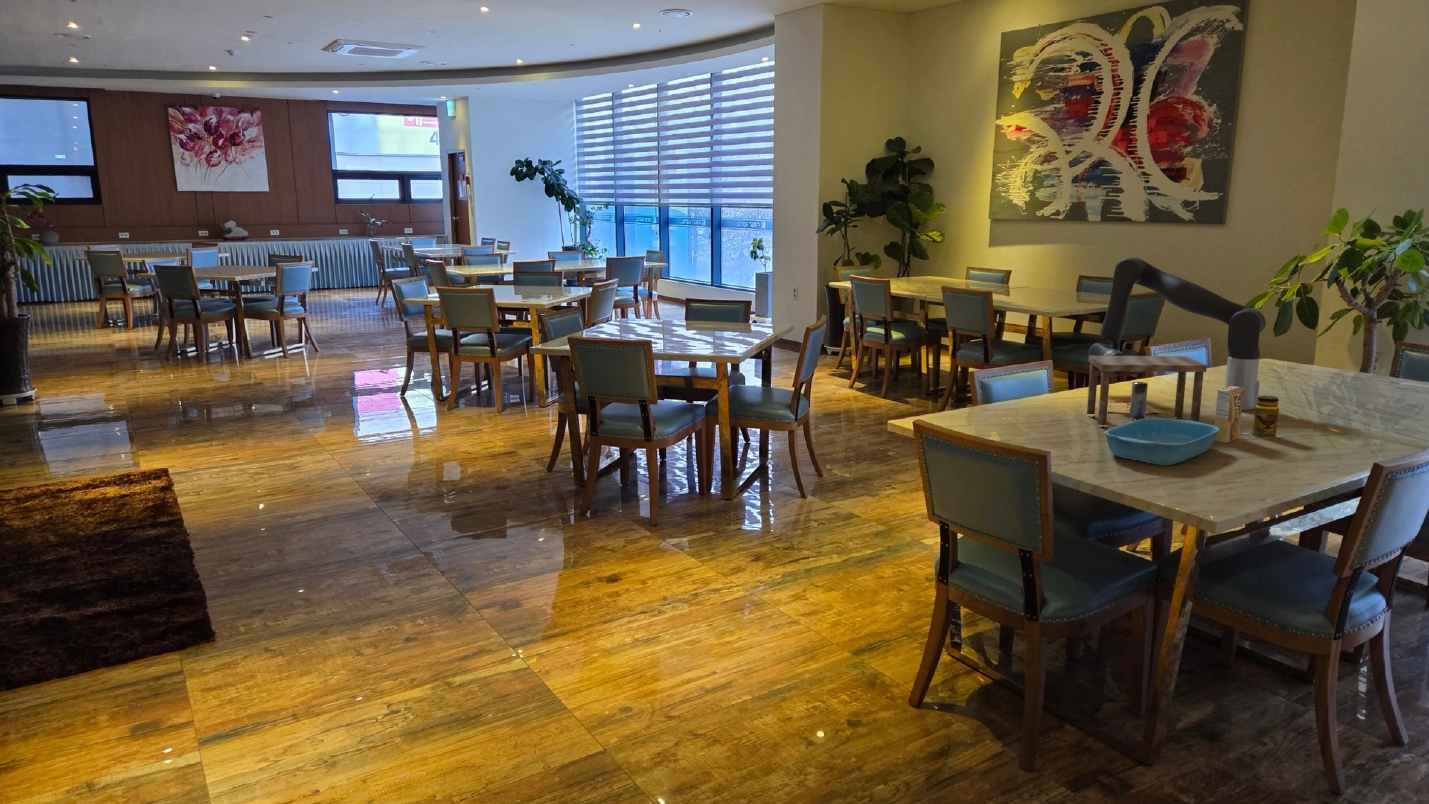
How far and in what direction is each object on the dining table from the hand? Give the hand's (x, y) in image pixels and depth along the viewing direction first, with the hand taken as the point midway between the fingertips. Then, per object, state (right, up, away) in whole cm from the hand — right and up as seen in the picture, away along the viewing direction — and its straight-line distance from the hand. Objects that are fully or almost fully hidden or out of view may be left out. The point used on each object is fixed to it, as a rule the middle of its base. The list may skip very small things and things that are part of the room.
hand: (1127, 369), depth 307 cm
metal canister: (-2, -16, -10) cm, 20 cm away
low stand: (-2, -17, -14) cm, 22 cm away
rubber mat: (+1, -13, +6) cm, 14 cm away
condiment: (+25, -21, -34) cm, 47 cm away
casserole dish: (-13, -25, -50) cm, 58 cm away
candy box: (+12, -22, -37) cm, 45 cm away
